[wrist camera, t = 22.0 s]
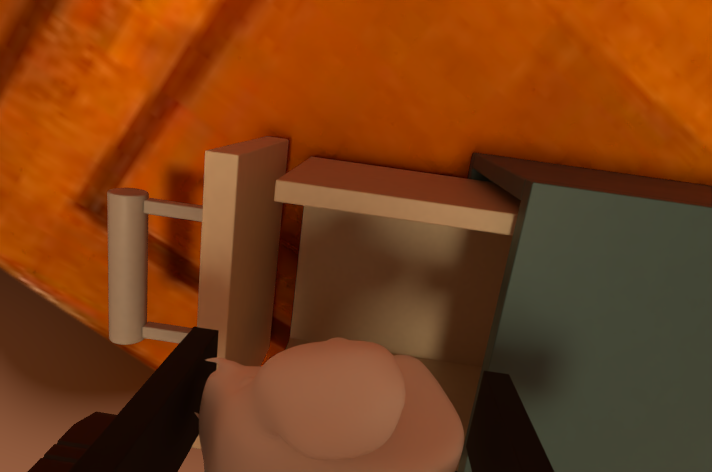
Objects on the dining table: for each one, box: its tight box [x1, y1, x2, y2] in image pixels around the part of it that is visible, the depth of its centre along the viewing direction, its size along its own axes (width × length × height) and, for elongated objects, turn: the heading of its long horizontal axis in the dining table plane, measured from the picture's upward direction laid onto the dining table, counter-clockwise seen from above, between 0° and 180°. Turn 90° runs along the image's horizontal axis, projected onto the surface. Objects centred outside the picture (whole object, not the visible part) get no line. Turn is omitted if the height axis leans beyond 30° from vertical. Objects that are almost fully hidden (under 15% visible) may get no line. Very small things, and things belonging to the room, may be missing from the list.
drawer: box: [107, 136, 521, 471], centre depth 22 cm, size 21×12×9 cm, turn 82°
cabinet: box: [455, 153, 712, 472], centre depth 22 cm, size 17×14×11 cm
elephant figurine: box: [194, 337, 464, 472], centre depth 12 cm, size 7×8×6 cm
